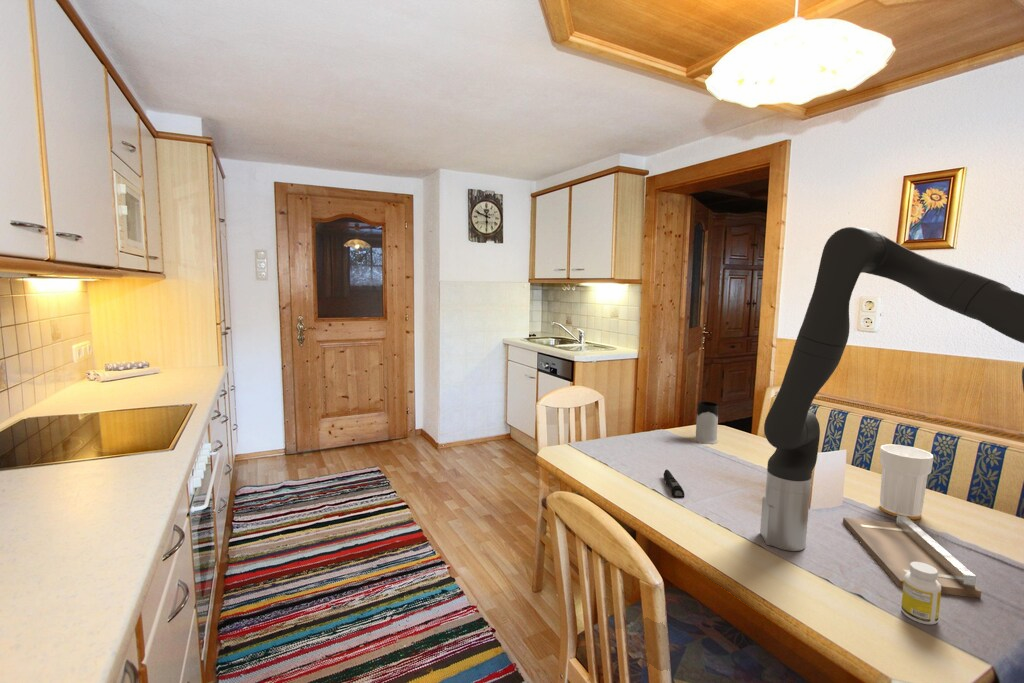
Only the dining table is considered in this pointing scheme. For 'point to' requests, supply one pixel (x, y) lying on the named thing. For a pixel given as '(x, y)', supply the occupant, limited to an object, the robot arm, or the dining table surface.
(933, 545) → the metal straightedge
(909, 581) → the supplement bottle
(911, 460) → the cup
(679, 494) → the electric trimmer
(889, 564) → the brown flat wooden board
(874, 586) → the dining table surface
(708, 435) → the glass holder
